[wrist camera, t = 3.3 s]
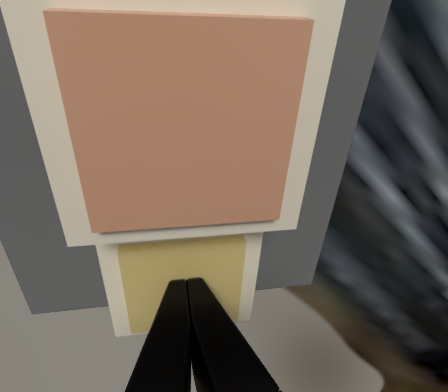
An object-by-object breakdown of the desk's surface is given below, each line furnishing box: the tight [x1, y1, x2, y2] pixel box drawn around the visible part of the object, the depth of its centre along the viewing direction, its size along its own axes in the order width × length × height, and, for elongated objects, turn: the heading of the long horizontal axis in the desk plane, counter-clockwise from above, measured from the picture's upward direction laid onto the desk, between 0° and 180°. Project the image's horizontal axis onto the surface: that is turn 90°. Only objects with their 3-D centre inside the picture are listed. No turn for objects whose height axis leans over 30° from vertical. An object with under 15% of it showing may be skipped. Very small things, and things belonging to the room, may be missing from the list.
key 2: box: [0, 0, 346, 247], centre depth 6 cm, size 4×4×4 cm
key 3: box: [96, 232, 263, 337], centre depth 10 cm, size 4×4×4 cm
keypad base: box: [0, 0, 392, 314], centre depth 9 cm, size 10×16×2 cm, turn 177°
